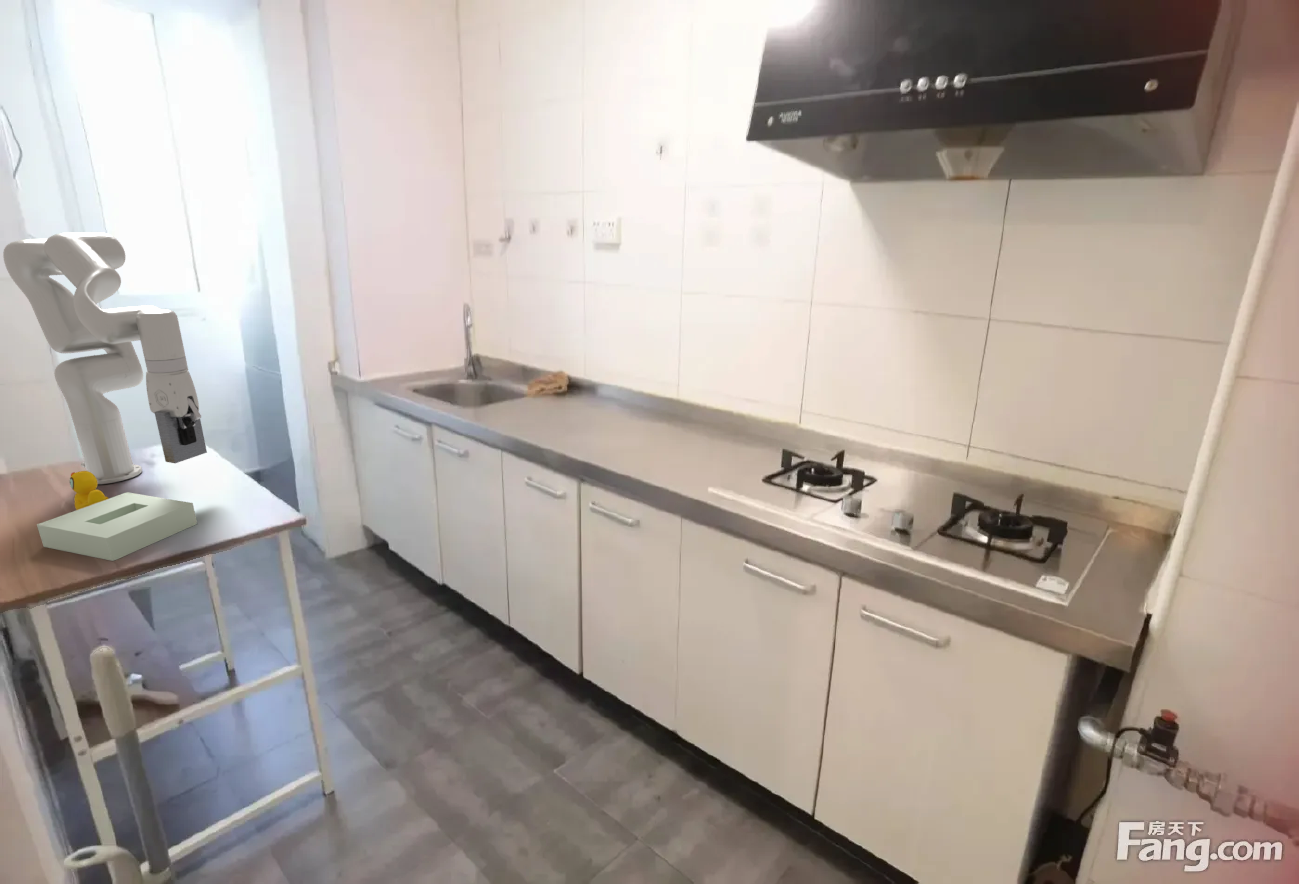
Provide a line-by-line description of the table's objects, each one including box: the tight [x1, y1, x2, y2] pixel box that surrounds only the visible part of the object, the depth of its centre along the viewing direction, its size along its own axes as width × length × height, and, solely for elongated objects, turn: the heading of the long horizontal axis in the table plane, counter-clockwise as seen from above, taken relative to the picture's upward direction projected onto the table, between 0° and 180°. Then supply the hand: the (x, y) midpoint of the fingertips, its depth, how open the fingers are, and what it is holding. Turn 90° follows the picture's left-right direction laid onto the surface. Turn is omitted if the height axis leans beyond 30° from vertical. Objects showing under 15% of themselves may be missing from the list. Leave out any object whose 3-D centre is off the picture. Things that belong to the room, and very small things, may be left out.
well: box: [36, 491, 198, 562], centre depth 140 cm, size 20×18×5 cm
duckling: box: [69, 470, 109, 511], centre depth 150 cm, size 11×5×10 cm, turn 59°
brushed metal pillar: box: [153, 411, 208, 464], centre depth 154 cm, size 3×8×12 cm, turn 162°
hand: (183, 441), depth 155 cm, fingers closed on brushed metal pillar, 3 cm apart
